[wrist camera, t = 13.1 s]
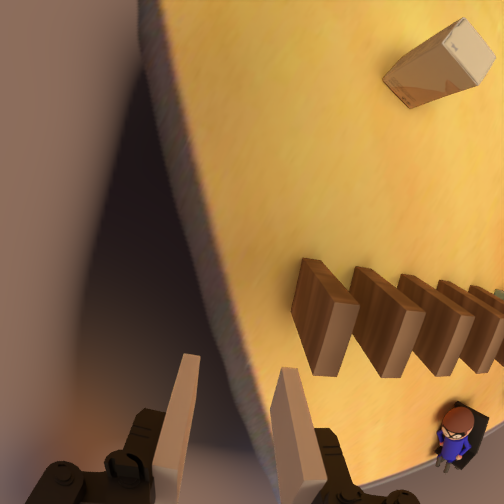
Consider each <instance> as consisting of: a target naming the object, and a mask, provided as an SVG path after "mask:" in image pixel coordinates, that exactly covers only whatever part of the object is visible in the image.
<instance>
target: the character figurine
mask: <svg viewBox="0 0 504 504" xmlns="http://www.w3.org/2000/svg"><path fill="white" fill-rule="evenodd" d="M488 420H489V417H487V416H485V415H483V414H481V413H479V412H477V411H476V410H474V409H472V408H470V407H468V406H466V405H464V404H462V403H460V402H459V401H457V402H456V403H455V408H454V409H452V410H450V411H449V412H448V413H447V414H446V415H445V417H444V419H443V421H442V429H441V430H439V431H437V435H438V438H439V441H440V447H439V448H437V449H436V450H435V453H436V454H438V456H437V462H436V467H439V466H440V463H441V462H443V461H444V460H447V462H446V466H445V469H444V473H447V472H448V470H449V467H450V464H451V463H452V464H453V465H454V466H455V468H456V469H457V470H458V469H461V470H462V469H463V468H464V467H465V466H466V465H467V464H468V463H469V461H470V460H471V459H472V458H473V457H474V456H475V455H476V453H477V452H478V450H479V447H480V444H481V441H482V439H483V436H484V433H485V430H486V427H487V424H488ZM442 433H444V435H445V440H444V438H443V435H442Z"/></svg>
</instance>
